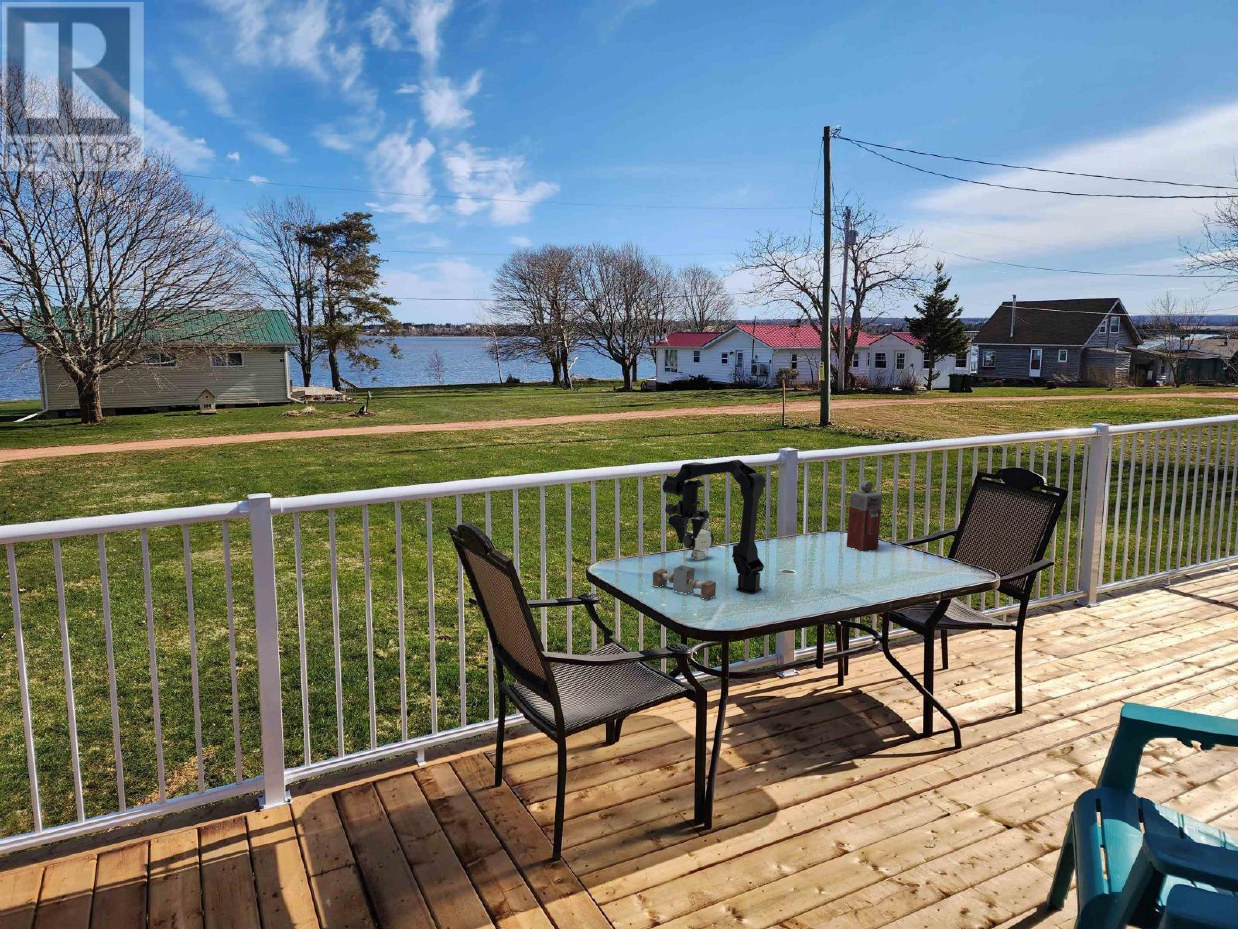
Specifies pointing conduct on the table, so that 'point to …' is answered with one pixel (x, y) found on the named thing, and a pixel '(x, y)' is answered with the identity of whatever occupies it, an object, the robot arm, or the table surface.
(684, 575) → the coupling block
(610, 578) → the table surface
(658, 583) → the shaft stand
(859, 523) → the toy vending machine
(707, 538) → the pneumatic valve
